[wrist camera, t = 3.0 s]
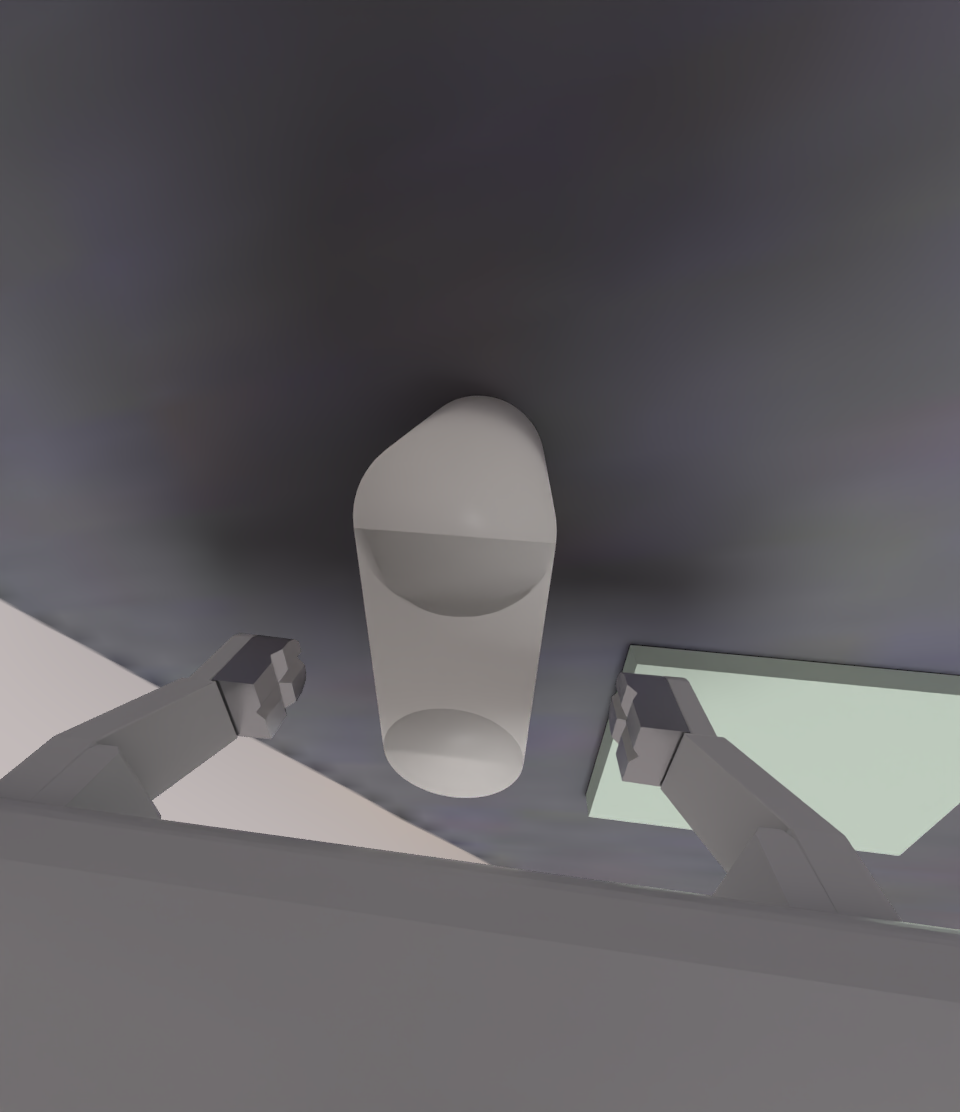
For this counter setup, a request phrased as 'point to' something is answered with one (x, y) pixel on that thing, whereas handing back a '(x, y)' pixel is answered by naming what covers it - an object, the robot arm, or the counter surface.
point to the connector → (457, 592)
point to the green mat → (813, 741)
